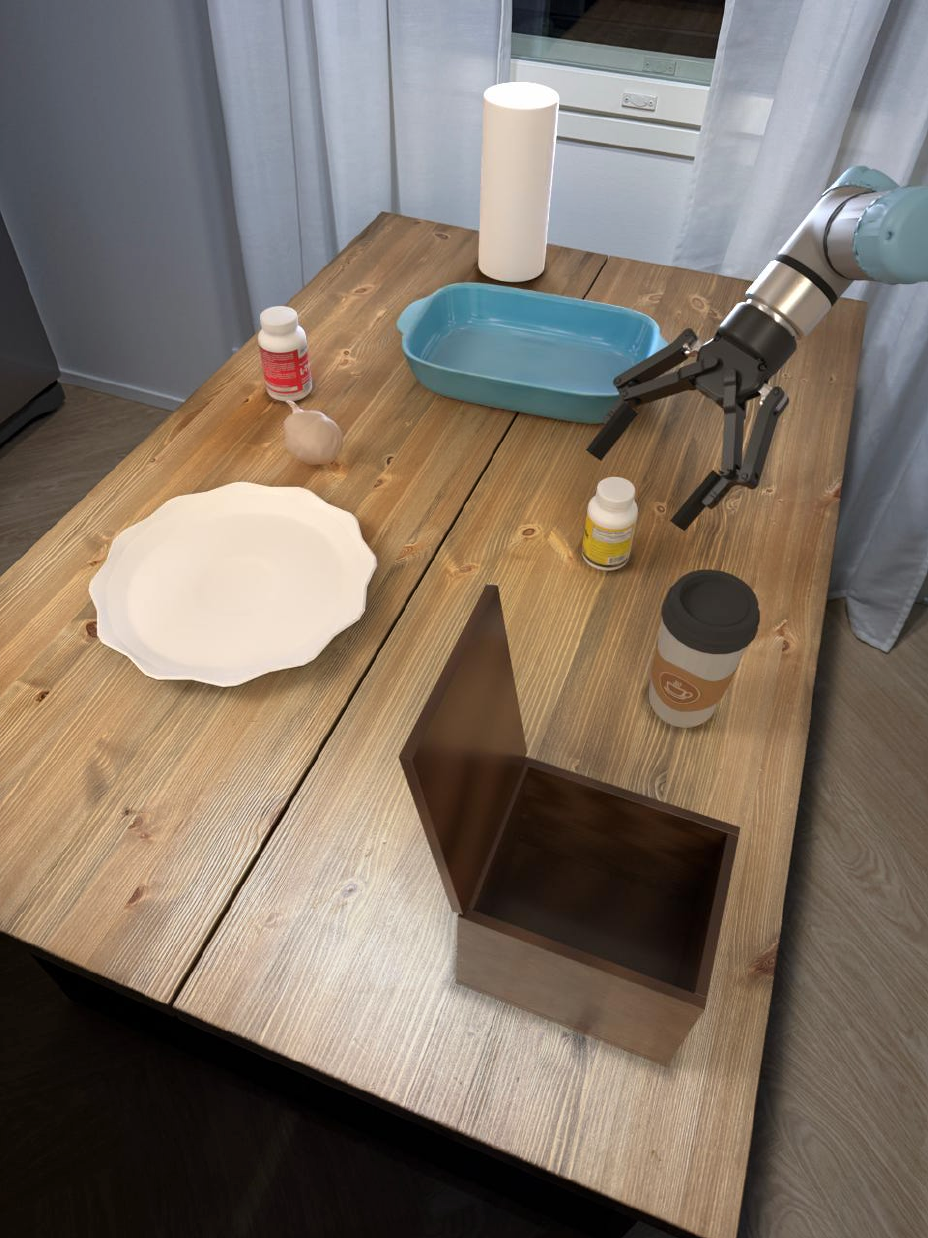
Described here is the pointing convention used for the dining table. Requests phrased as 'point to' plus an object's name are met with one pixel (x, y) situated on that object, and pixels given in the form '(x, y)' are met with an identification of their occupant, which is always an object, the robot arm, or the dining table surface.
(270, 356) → the pill bottle
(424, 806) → the lid
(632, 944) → the chest
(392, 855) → the dining table surface
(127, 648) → the plate
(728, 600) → the coffee cup
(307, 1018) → the dining table surface
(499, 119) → the tall pillar cylinder
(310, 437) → the garlic bulb
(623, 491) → the supplement bottle
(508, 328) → the casserole dish
